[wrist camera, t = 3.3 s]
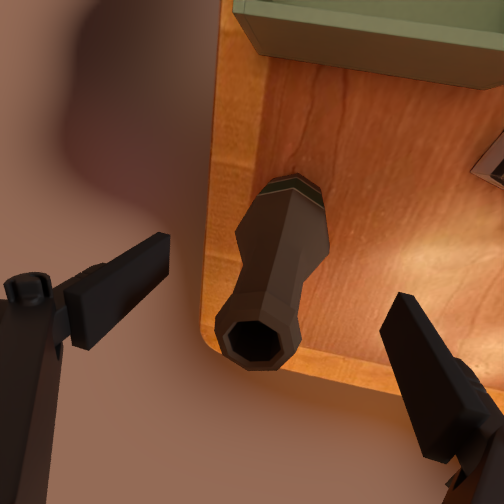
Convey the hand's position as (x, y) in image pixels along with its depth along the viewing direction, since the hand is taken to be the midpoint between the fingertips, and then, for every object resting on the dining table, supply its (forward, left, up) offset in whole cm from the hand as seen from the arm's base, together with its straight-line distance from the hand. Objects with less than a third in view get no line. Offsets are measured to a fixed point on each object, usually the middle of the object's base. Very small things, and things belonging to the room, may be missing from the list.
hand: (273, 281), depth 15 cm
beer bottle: (0, 0, -19) cm, 19 cm away
